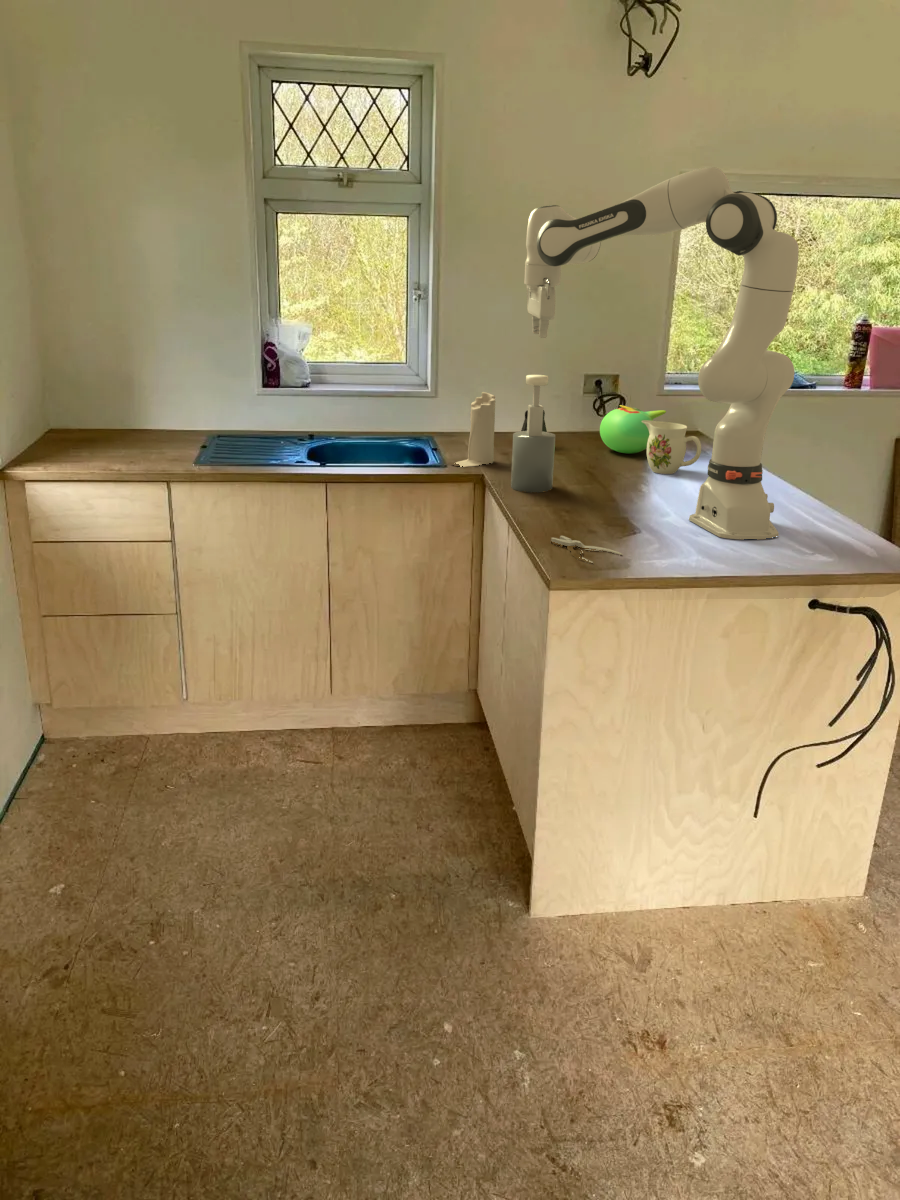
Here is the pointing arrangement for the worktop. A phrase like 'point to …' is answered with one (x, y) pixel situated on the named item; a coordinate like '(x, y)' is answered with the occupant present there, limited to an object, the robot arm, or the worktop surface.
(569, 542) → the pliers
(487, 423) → the candle
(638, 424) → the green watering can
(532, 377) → the pump head
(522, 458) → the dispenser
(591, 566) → the worktop surface
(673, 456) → the pitcher
